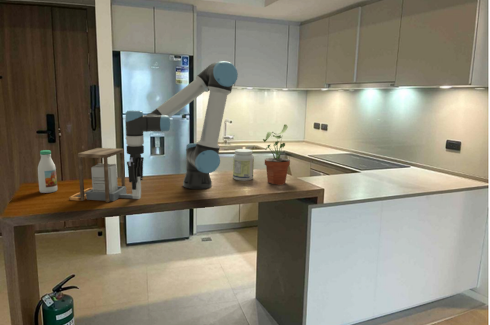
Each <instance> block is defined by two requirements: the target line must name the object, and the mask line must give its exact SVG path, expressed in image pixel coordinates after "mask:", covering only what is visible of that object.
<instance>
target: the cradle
mask: <svg viewBox="0 0 490 325" xmlns="http://www.w3.org/2000/svg"><path fill="white" fill-rule="evenodd" d="M140 181H141V180H140V177H137V182H138V196H132V193H127V186H126V185H125V186H122V185H118V190H117V191H115V192H113V193H109V201H110V202H115V201H117V200H118V199H119V198H121V199H133V200H140V199H141V198H142V184H141V185H140ZM85 199H86V200H87V201H90V200H91V201H104V202H106V199H105V193H104V192H93V189H91V190H89V191H87V192H86V198H85Z"/></svg>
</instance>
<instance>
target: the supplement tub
mask: <svg viewBox="0 0 490 325" xmlns="http://www.w3.org/2000/svg"><path fill="white" fill-rule="evenodd" d="M253 154H254V153H253V150H252V149H248V148H238V149H235V150H234V154H233V159H232V178H233V179H234V180H235V181H244V182H245V181H251V180H252V179H253V178H254V166H255V165H254V164H255V161H254V159H255V157H254V155H253Z"/></svg>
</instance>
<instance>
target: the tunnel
mask: <svg viewBox="0 0 490 325" xmlns="http://www.w3.org/2000/svg"><path fill="white" fill-rule="evenodd" d="M124 153H125V149H124V148H111V147H110V148H108V147H96V148H92V149H89V150H86V151H81V152H78V153H77V166H78V180H79V192H80V198H81V200H80V201H82V202H83V201H86V200H85V199H86V198H85V197H84V190H85V185H84V171H83V170H84V169H83V158H90V159H91V158H92V159H93V158H94V159H95V158H96V160H97V161H96V162H97V164H102V159H103V164H104V179H105V199H106V201H105V203H110V202H111V201H109V180H108V164H109V161H108V158H111V157H113V156H115V155H120V156H119V158H120V180H121V186H126V180H125V179H126V177H125V173H126V172H125V154H124Z"/></svg>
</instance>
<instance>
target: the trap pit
mask: <svg viewBox="0 0 490 325" xmlns="http://www.w3.org/2000/svg"><path fill="white" fill-rule="evenodd" d="M91 189H93V188H92V187H88V188H86V189H84V197H85V199H86V192H87V191H89V190H91ZM68 200H69V201H79V202H80V201H81V198H80V191H79V192H77V193H75V194H73V195H71V196H68Z"/></svg>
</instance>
